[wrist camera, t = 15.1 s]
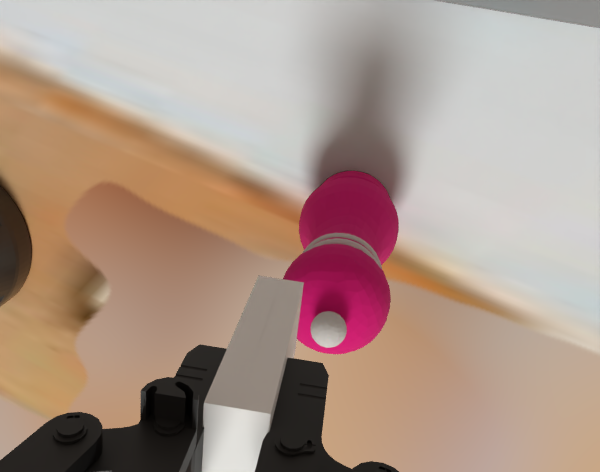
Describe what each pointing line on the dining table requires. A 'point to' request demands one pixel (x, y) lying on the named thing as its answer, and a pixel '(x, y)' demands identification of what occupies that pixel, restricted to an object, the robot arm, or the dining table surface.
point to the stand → (544, 9)
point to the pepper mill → (344, 262)
